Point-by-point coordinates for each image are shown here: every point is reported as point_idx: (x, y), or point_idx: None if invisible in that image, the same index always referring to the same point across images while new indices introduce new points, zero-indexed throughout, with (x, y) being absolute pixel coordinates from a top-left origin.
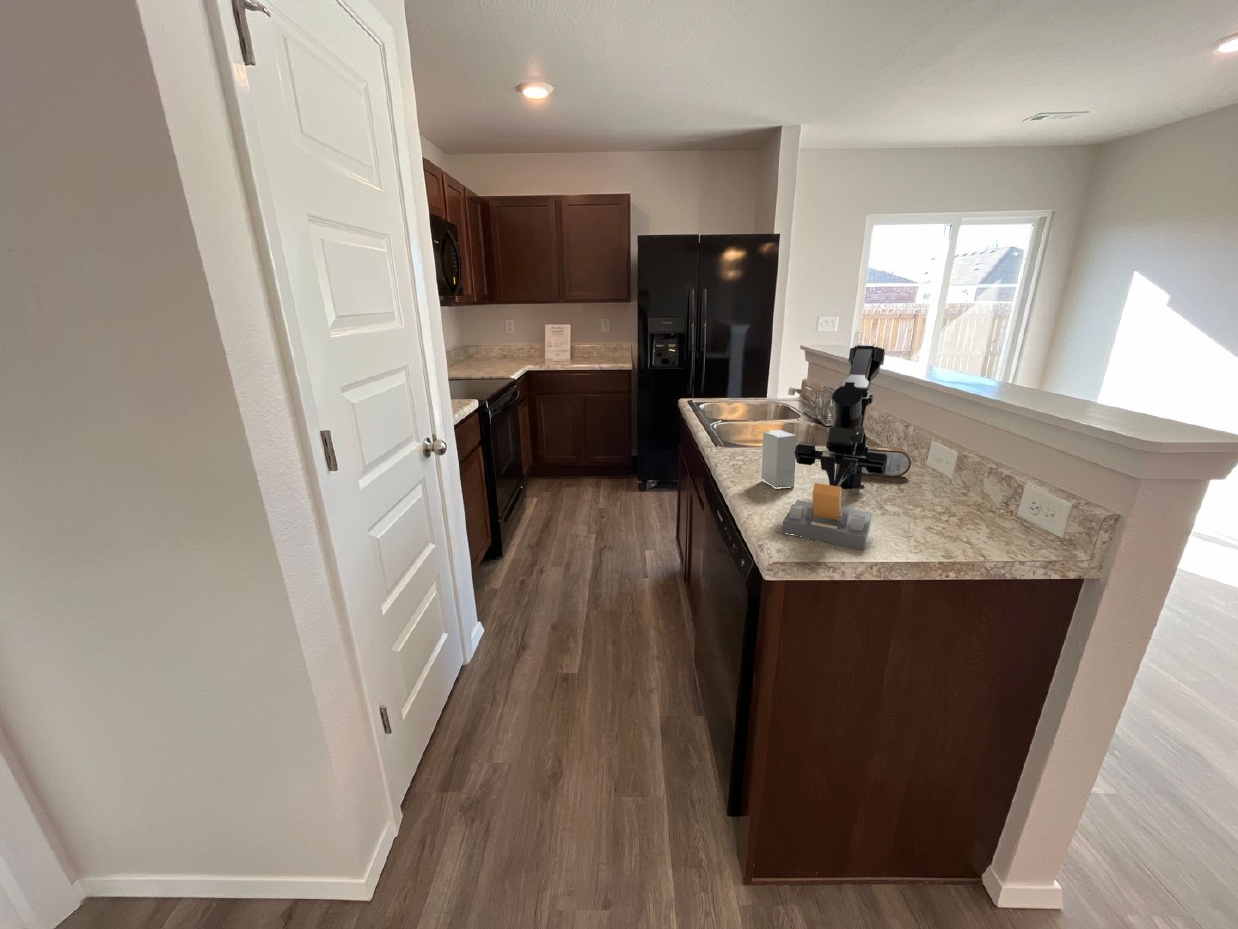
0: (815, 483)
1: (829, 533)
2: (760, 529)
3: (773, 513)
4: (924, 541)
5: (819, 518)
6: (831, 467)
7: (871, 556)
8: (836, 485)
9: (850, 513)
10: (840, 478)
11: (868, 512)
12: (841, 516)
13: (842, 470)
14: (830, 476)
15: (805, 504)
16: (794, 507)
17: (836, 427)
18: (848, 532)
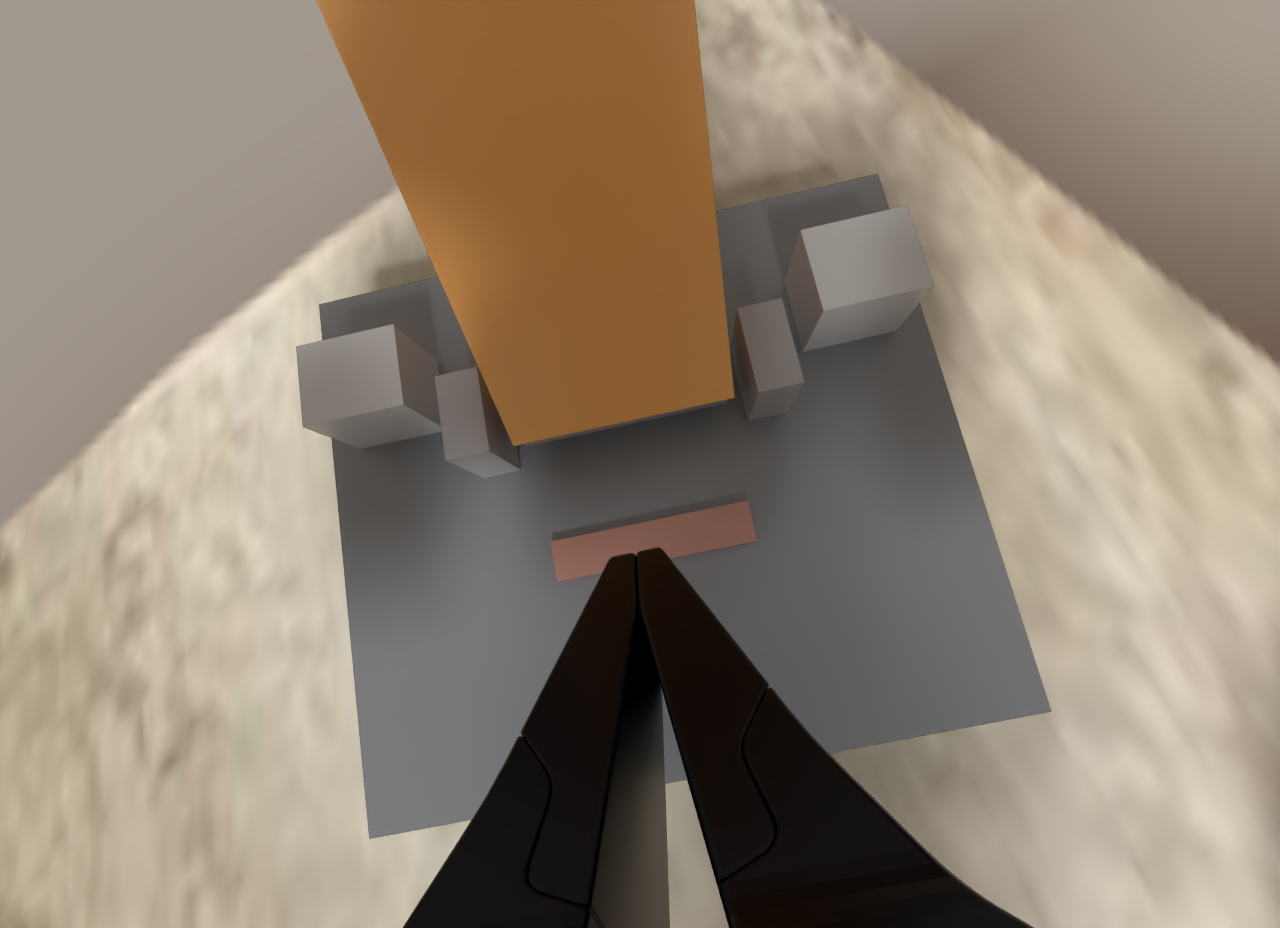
0: None
1: None
2: (991, 204)
3: (1102, 527)
4: (91, 731)
5: None
6: (796, 884)
7: None
8: (593, 606)
9: (517, 687)
10: (540, 711)
11: (395, 821)
12: (552, 551)
13: (497, 890)
14: (726, 678)
15: (923, 640)
16: (876, 227)
17: None
18: (426, 293)
